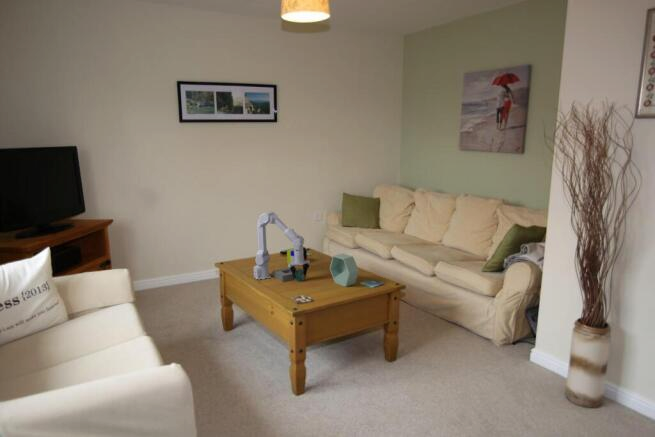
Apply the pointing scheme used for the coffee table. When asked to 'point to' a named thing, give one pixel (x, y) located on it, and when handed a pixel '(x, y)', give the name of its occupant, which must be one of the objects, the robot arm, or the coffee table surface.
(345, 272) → the planter
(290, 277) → the well block
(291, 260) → the puzzle toy
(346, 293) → the coffee table surface
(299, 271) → the teal peg
